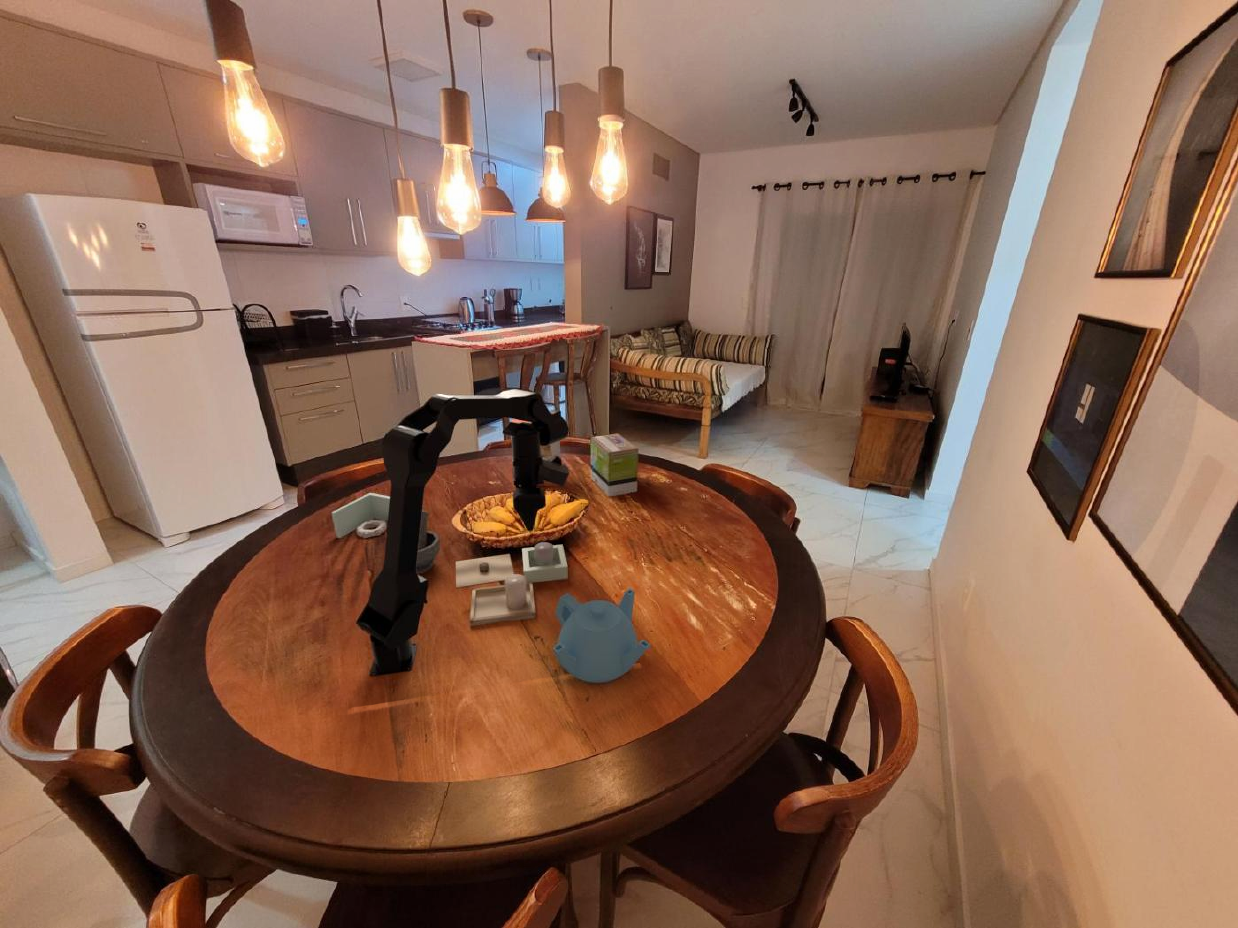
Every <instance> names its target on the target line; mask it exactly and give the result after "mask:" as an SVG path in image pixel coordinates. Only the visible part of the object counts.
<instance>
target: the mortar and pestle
mask: <svg viewBox="0 0 1238 928" xmlns="http://www.w3.org/2000/svg"><path fill="white" fill-rule="evenodd" d="M429 514H430V513H429V512H428V511H427V510H422V517H421V527H420V536H419V546H418V556H417V565H416V571H417V574H418V575H419V574H424V573H426V572H428V571H430V570H431V569H432V568H433V566H434V565H435V563H434V561H435V559H436V558H437V556H438V554H439V553H440V549H441V541H440V540H441V539H440V537H439V535H438V534H437V532H436V531H435V532H434V531H430V530H428V517H429V516H430V515H429Z"/></svg>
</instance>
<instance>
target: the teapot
mask: <svg viewBox="0 0 1238 928" xmlns="http://www.w3.org/2000/svg"><path fill="white" fill-rule="evenodd" d="M635 593H636V590H635V589H632V588H628V589H627V590H626V591H624V595H623V596H622V597H621V600H620V601H619V602H620V603H619V604H618V606H617V604H615V603H612V602H610V601H609V600H602V599H601V600H600V599H593V600H588V601H586V602H583V603H581V602H579V601H578V600H577V599H576V598H575V597H574V596H573V595H572V594H570V593H569V592H566V593H565V594H563V595H561V596H560V597H559V600H558V603H557V607H556V608H555V609H556V610H555V612H554V614H555V616H556V618H557V619H558V622H559V624H560V625H561V630H560V632H559V636H558V638H557V644H556V645H555V646H554V647H553V648H552V652H553V653H554V656H555V658H556V659H557V661H558V663H559V665H560V667H562V668H563V669H564V670H565V671H566V672H567V673H568V674H570V675H571V676H572V677H573V678H576V679H578V680H580V681H583V682H586V683H591V684H603V683H608V682H611V681H614V680H616V679H618V678H620V677H622V676H623V675H625V674H627V672H628V671H629V670H631V668H633V666H634V665H635V664H636V663H637V662H638V660H639V659H640V658H641V657H642V656H643V655H644V654H645V652H646V651H647V650H648V649H649V648H650V647H651V645H652V644H651V643H650V642H648V641H646V640H645V639H641V640H640V641H639V640H638V637H637V632H636V630H635V628H634V626H633V623H632V621H633V613H634V603H635ZM638 641H639V642H638Z"/></svg>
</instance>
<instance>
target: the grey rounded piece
mask: <svg viewBox="0 0 1238 928" xmlns="http://www.w3.org/2000/svg"><path fill="white" fill-rule="evenodd" d="M553 545H554V544H552V543H550V542H545V541H544V542H543V541H542V542H539V543H537V544H535V546H534V547H535V567H539V566H549V565H553Z"/></svg>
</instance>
